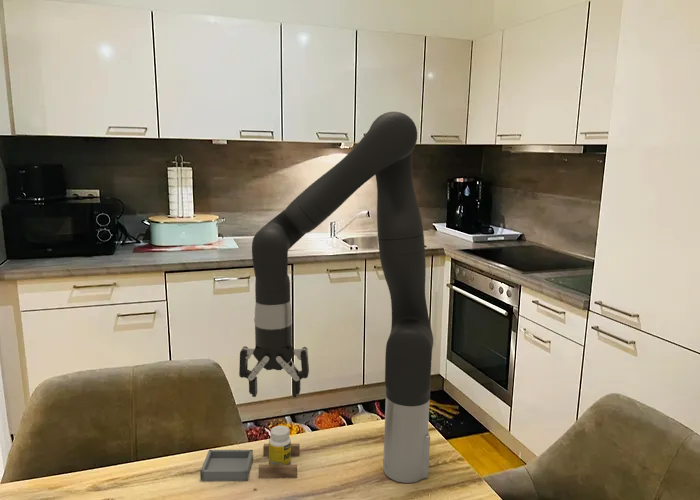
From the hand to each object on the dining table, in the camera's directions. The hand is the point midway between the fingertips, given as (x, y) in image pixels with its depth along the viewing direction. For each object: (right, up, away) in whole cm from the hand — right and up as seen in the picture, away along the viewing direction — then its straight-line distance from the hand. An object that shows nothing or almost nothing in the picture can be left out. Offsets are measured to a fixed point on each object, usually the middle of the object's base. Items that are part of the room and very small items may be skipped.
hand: (274, 395), depth 110 cm
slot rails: (+1, -16, +4) cm, 17 cm away
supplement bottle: (+1, -17, +4) cm, 17 cm away
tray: (-10, -16, +2) cm, 19 cm away
